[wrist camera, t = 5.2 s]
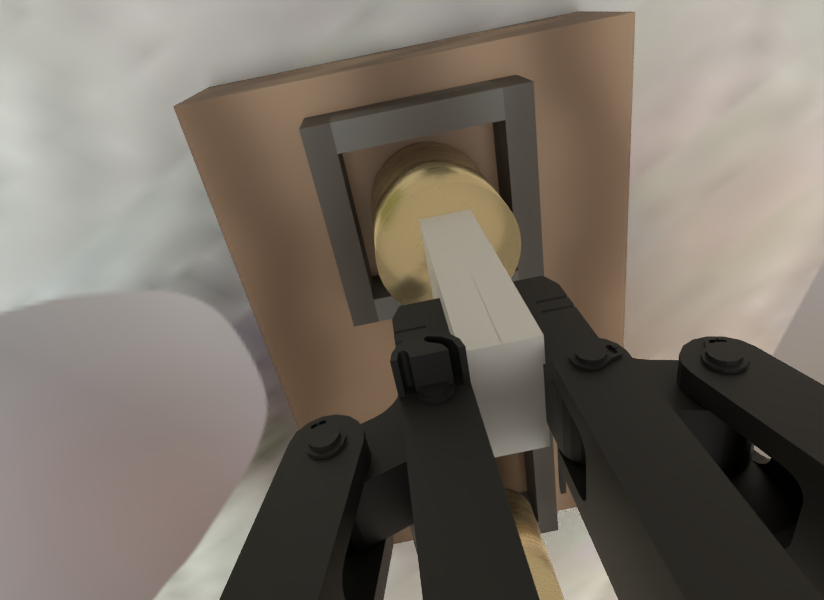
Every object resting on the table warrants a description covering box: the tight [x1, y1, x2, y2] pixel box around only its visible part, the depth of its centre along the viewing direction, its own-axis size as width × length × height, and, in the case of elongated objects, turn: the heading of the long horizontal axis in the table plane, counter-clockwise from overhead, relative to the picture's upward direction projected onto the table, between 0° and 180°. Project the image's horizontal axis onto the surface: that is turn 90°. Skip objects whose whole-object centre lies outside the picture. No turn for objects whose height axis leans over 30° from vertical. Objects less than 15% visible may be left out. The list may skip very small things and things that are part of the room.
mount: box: [173, 12, 635, 554], centre depth 25 cm, size 16×25×7 cm, turn 10°
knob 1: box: [371, 142, 521, 305], centre depth 18 cm, size 4×4×5 cm
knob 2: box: [504, 488, 564, 600], centre depth 22 cm, size 4×4×5 cm
